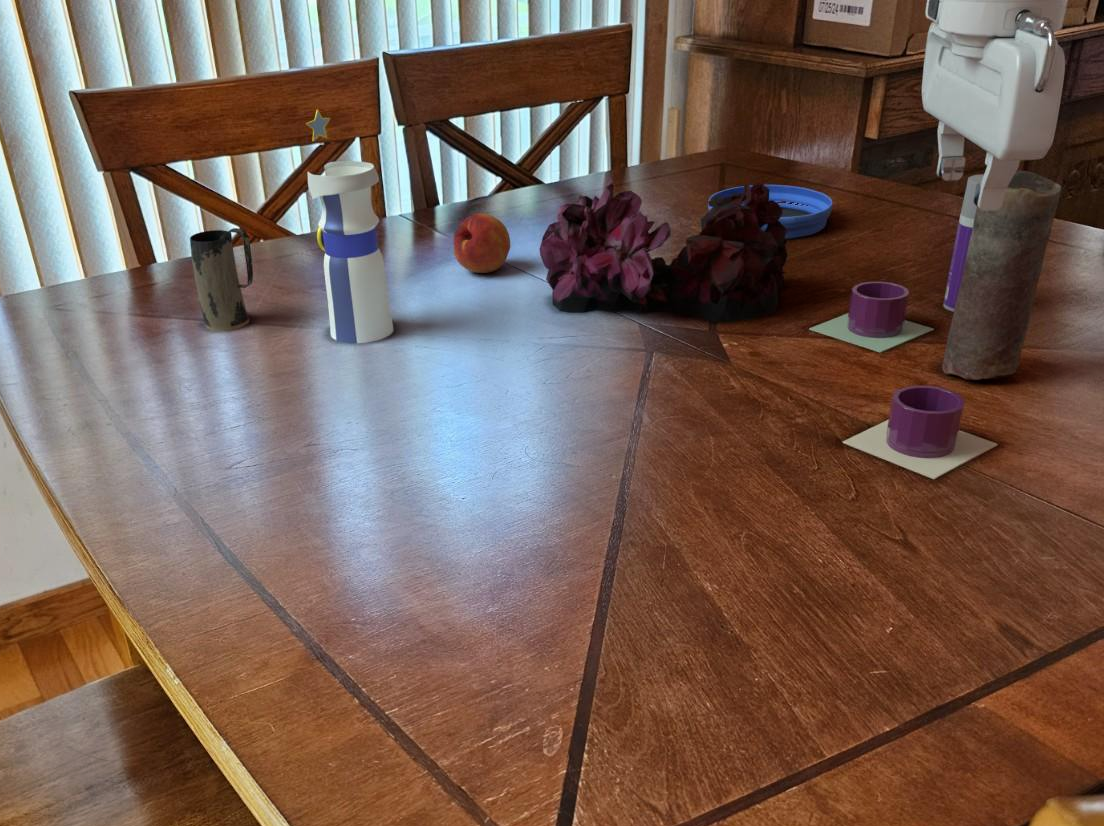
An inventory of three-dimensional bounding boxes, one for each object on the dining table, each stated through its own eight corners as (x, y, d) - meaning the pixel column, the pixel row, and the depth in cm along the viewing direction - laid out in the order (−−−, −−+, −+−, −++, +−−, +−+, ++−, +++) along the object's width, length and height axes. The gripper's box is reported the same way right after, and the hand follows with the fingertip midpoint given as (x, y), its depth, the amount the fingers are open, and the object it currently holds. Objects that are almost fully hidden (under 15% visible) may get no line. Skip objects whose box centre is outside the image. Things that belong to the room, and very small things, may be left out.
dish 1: (913, 328, 127) (920, 290, 125) (880, 342, 124) (886, 303, 121) (868, 315, 131) (874, 277, 129) (835, 328, 128) (841, 290, 126)
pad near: (997, 446, 103) (997, 443, 102) (934, 481, 98) (934, 478, 98) (905, 413, 109) (906, 410, 109) (842, 444, 104) (842, 441, 104)
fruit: (446, 268, 154) (442, 210, 149) (499, 259, 156) (497, 202, 151) (465, 284, 147) (461, 224, 143) (520, 275, 150) (518, 215, 145)
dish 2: (968, 443, 103) (978, 399, 100) (929, 464, 100) (938, 419, 97) (911, 423, 107) (919, 379, 104) (872, 442, 104) (879, 398, 101)
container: (962, 317, 130) (988, 186, 122) (934, 305, 134) (958, 177, 125) (992, 310, 132) (1020, 180, 123) (964, 298, 135) (989, 171, 127)
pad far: (933, 331, 127) (934, 328, 127) (880, 354, 122) (881, 351, 122) (862, 309, 134) (862, 307, 133) (808, 330, 129) (809, 328, 128)
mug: (195, 329, 138) (175, 233, 131) (219, 314, 142) (201, 220, 135) (250, 335, 135) (232, 237, 128) (272, 319, 139) (256, 223, 133)
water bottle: (312, 341, 132) (279, 120, 118) (350, 317, 139) (323, 105, 125) (370, 350, 129) (344, 123, 115) (406, 325, 136) (385, 108, 122)
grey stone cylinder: (993, 357, 120) (1036, 165, 109) (1031, 383, 114) (1080, 183, 103) (928, 364, 119) (964, 172, 108) (963, 391, 113) (1005, 190, 102)
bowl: (682, 227, 165) (683, 203, 163) (755, 201, 175) (757, 178, 173) (782, 250, 154) (784, 224, 152) (853, 221, 164) (857, 197, 162)
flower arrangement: (774, 273, 146) (786, 155, 138) (802, 326, 130) (817, 196, 121) (541, 279, 148) (538, 163, 139) (539, 333, 132) (536, 205, 123)
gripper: (1106, 19, 74) (1056, 227, 82) (998, -13, 91) (965, 162, 99) (1011, 23, 74) (970, 230, 82) (921, -9, 91) (894, 165, 99)
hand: (966, 193), depth 90 cm, fingers open, 8 cm apart
